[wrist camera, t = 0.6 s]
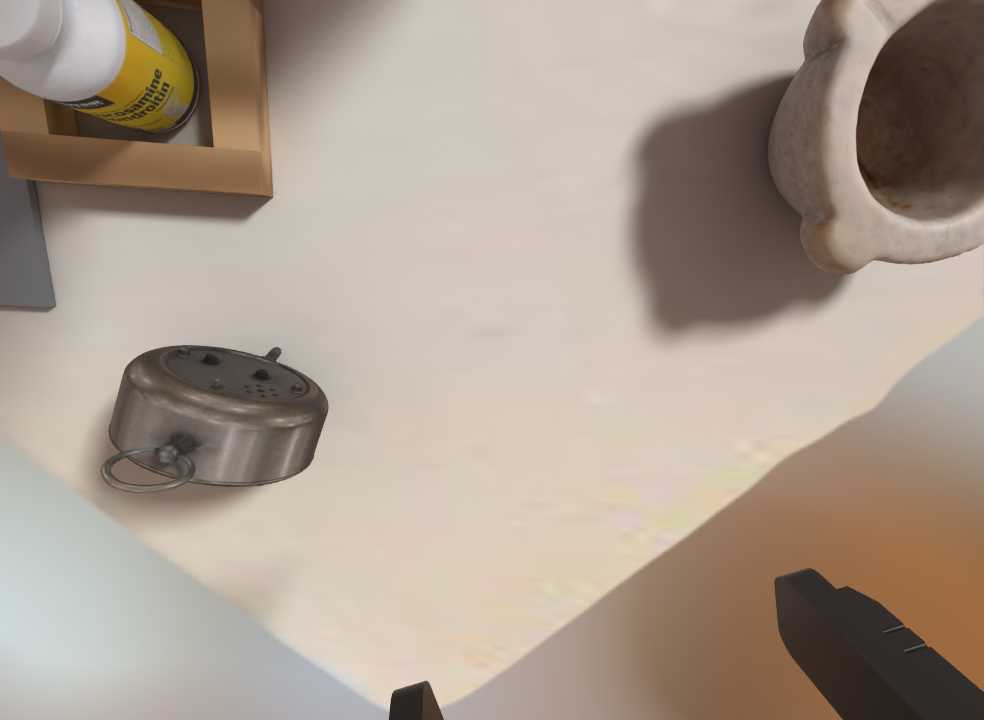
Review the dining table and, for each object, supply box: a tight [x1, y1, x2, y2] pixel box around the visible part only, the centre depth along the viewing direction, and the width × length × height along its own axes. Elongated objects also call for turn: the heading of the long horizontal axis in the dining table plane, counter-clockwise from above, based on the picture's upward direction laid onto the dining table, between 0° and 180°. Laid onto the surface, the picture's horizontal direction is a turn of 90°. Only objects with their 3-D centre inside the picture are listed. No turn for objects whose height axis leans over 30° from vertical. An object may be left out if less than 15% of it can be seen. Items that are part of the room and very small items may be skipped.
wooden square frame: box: [0, 0, 273, 197], centre depth 28 cm, size 13×14×2 cm
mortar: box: [768, 0, 984, 274], centre depth 30 cm, size 17×17×9 cm
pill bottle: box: [0, 0, 199, 133], centre depth 23 cm, size 6×6×12 cm
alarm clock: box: [101, 345, 328, 493], centre depth 27 cm, size 11×5×16 cm, turn 69°
